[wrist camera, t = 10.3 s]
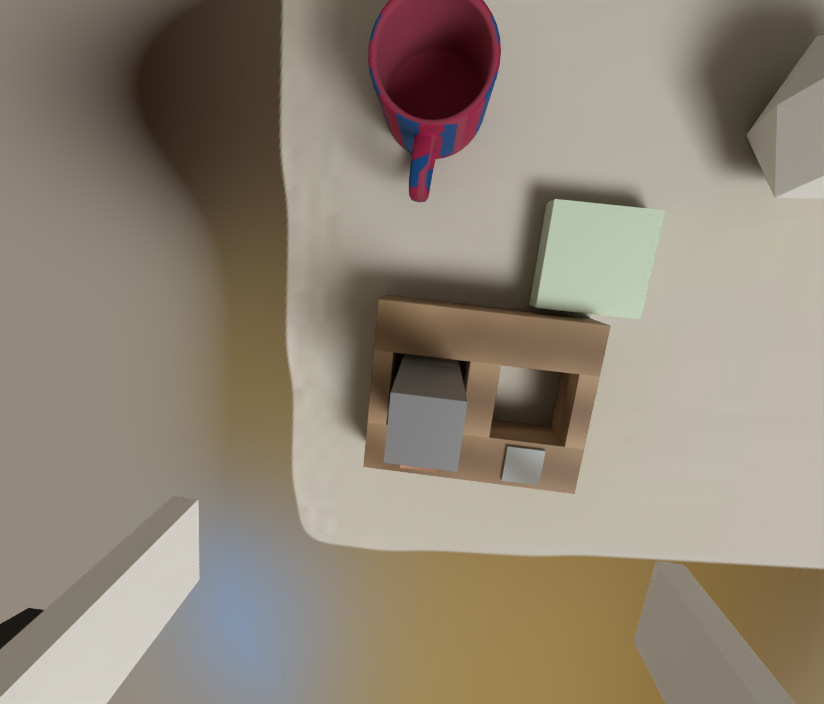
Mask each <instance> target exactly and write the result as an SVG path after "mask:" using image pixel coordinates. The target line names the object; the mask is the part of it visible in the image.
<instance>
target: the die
mask: <svg viewBox="0 0 824 704" xmlns="http://www.w3.org/2000/svg"><path fill="white" fill-rule="evenodd" d="M746 136H747V138H748V140H749V142H750V144H751V147H752V149H753V151H754V153H755V155H756V158H757V160H758V162H759V164H760V166H761V168H762V171H763V173H764V175H765V177H766V179H767V182H768V184H769V186H770V188H771V190H772V193H773V195H774V197H775V198H824V35H818V36H816V38H815V39H814V40H813V42H812V43H811V45H810V46H809V47H808V49H807V50H806V52H805V53H804V55H803V56H802V57H801V59H800V60H799V62H798V63H797V64H796V66H795V67H794V69H793V70H792V71H791V73H790V74H789V76H788V77H787V78H786V80H785V81H784V83H783V84H782V85H781V87H780V88H779V90H778V91H777V92H776V94H775V95H774V97H773V98H772V99H771V101H770V102H769V104H768V105H767V106H766V108H765V109H764V111H763V112H762V113H761V115H760V116H759V118H758V119H757V121H756V122H755V123H754V125H753V126H752V128H751V129H750V130H749V132H748V133H747V135H746Z"/></svg>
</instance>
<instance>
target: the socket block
mask: <svg viewBox="0 0 824 704" xmlns="http://www.w3.org/2000/svg"><path fill="white" fill-rule="evenodd" d="M609 331H610V325H607V324H604V323H601V322H599V321H596V320H593V319H590V318H581V317H572V316H563V315H555V314H546V313H537V312H528V311H519V310H510V309H502V308H493V307H484V306H475V305H466V304H458V303H449V302H440V301H431V300H422V299H413V298H405V297H396V296H387V295H385V296H383V297H382V298H380V299H378V310H377V322H376V333H375V344H374V355H373V366H372V377H371V389H370V400H369V411H368V422H367V433H366V445H365V456H364V467H369V468H376V469H384V470H392V471H400V472H408V473H416V474H423V475H431V476H439V477H447V478H455V479H462V480H470V481H478V482H486V483H494V484H501V485H509V486H517V487H525V488H533V489H541V490H548V491H556V492H564V493H572V494H575V489H576V484H577V480H578V475H579V470H580V466H581V461H582V456H583V452H584V447H585V442H586V438H587V433H588V428H589V424H590V419H591V414H592V410H593V405H594V400H595V396H596V391H597V386H598V382H599V377H600V373H601V368H602V363H603V359H604V354H605V349H606V345H607V340H608V335H609ZM397 353H403V354H411V355H420V356H428V357H437V358H445V359H454V360H462V361H465V368H464V375H463V383H464V388H465V392H466V397H467V401H468V403H467V410H466V416H465V423H464V430H463V437H462V444H461V451H460V458H459V465H458V472H453V471H445V470H437V469H429V468H421V467H413V466H406V465H398V464H390V463H384V454H385V445H386V435H387V425H388V415H389V405H390V395H391V390H392V388H393V385H394V376H395V367H396V357H397ZM501 365H504V366H513V367H521V368H530V369H538V370H547V371H555V372H562V373H561V379H560V384H559V389H558V394H557V399H556V404H555V410H554V415H553V420H552V425H551V427H546V426H538V425H530V424H521V423H513V422H505V421H497V420H492V417H493V411H494V404H495V398H496V392H497V386H498V379H499V373H500V367H501Z"/></svg>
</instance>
